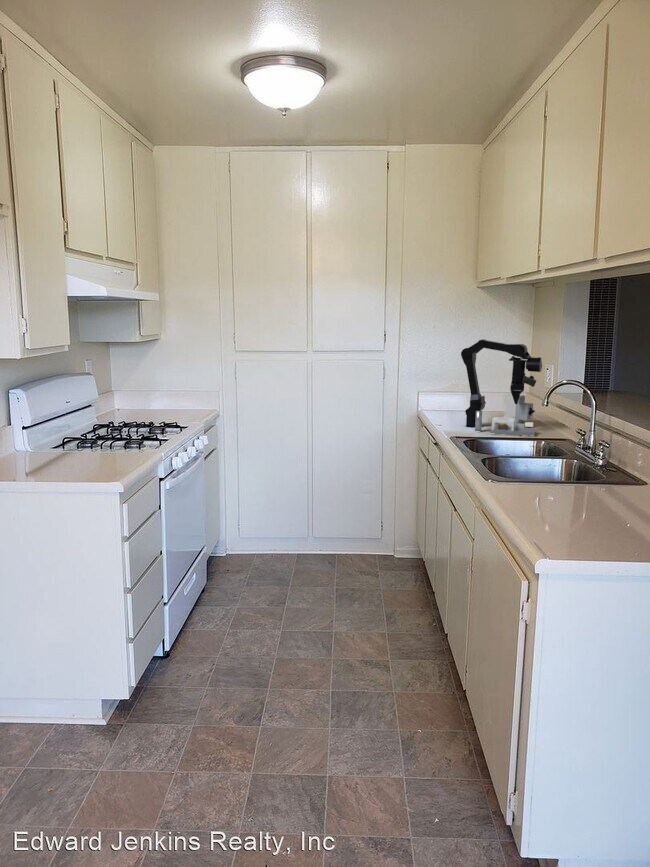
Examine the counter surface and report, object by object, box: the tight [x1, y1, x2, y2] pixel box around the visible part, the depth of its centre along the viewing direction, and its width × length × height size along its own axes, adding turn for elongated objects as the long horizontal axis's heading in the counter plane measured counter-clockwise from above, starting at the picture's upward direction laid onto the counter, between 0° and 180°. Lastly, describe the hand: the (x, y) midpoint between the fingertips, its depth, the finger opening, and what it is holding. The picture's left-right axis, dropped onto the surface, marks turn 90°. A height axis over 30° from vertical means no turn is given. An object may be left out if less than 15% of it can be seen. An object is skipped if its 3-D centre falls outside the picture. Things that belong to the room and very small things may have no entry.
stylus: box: [474, 410, 483, 432], centre depth 313 cm, size 3×3×10 cm
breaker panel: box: [489, 416, 536, 437], centre depth 309 cm, size 20×12×6 cm, turn 72°
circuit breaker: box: [502, 393, 536, 427], centre depth 328 cm, size 8×14×15 cm, turn 53°
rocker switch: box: [524, 421, 534, 427], centre depth 307 cm, size 4×4×1 cm
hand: (516, 402), depth 315 cm, fingers open, 9 cm apart
